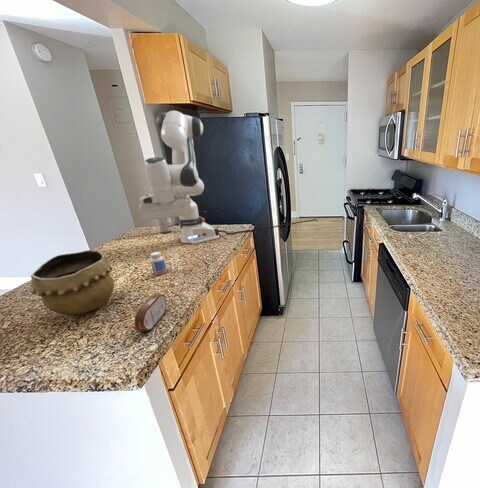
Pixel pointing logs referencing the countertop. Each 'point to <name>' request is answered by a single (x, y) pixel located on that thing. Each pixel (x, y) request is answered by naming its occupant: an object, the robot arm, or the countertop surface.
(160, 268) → the pill bottle
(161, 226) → the bottle
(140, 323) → the brown oval clock
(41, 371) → the countertop surface
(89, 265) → the clay pot
